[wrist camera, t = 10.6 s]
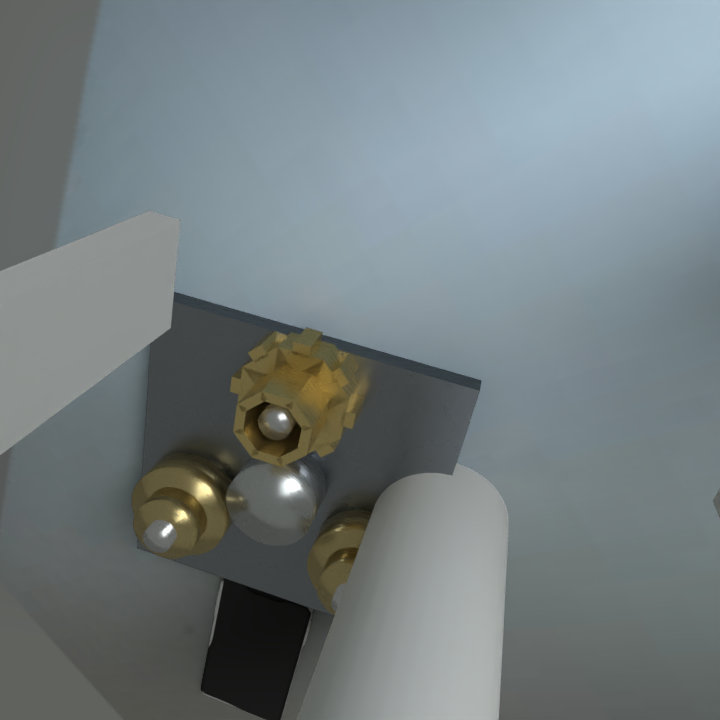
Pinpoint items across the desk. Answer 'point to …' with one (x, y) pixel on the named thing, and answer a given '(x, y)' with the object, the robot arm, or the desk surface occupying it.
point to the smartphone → (254, 649)
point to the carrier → (271, 482)
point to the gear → (296, 395)
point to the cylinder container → (420, 608)
